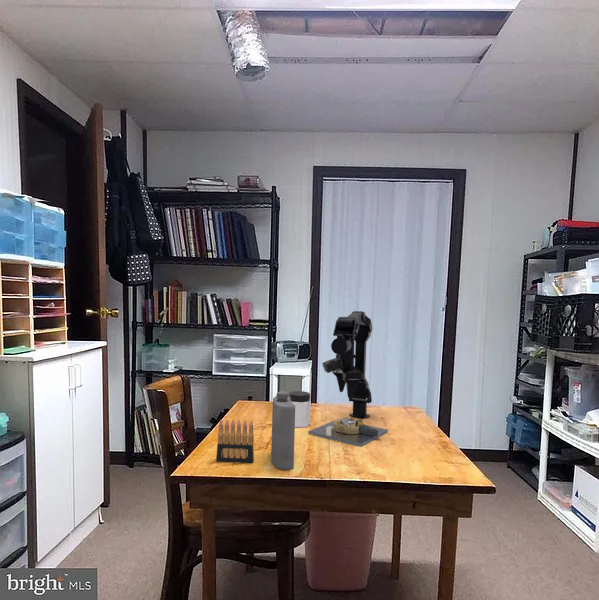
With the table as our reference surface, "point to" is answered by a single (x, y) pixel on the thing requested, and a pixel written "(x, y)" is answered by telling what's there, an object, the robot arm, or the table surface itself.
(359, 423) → the ring nut
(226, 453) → the ammunition clip
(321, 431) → the cap plate
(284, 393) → the flask
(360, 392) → the robot arm
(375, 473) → the table surface
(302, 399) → the jar
